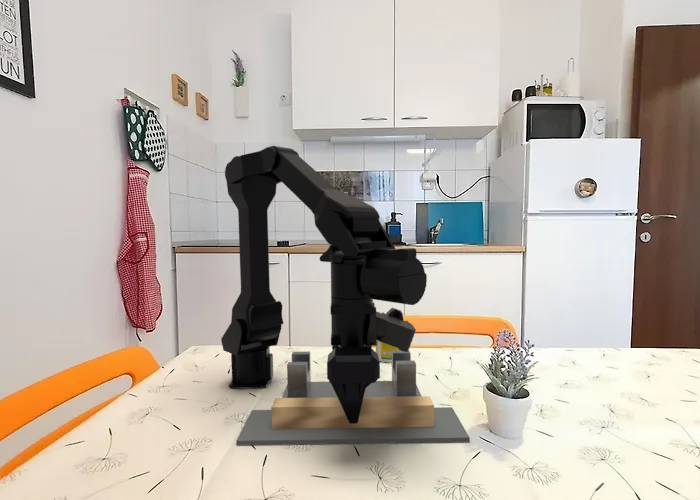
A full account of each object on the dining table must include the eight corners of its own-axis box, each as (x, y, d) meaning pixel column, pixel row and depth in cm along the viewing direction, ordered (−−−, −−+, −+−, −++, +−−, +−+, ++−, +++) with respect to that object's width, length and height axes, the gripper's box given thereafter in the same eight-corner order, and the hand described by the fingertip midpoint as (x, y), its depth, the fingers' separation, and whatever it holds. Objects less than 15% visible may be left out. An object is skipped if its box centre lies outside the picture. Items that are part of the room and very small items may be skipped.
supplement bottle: (370, 358, 88) (370, 313, 88) (388, 353, 92) (388, 310, 91) (388, 365, 84) (388, 317, 84) (406, 359, 88) (406, 314, 87)
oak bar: (271, 428, 57) (271, 407, 57) (275, 418, 60) (275, 398, 60) (434, 426, 57) (434, 405, 57) (429, 416, 60) (429, 396, 60)
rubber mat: (236, 445, 54) (236, 440, 54) (252, 413, 63) (252, 409, 63) (469, 442, 54) (469, 437, 54) (452, 411, 63) (452, 407, 63)
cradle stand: (280, 407, 65) (280, 366, 64) (288, 387, 73) (287, 350, 72) (423, 405, 65) (423, 364, 65) (414, 386, 73) (414, 349, 73)
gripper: (423, 308, 48) (423, 441, 49) (401, 285, 67) (401, 381, 68) (326, 309, 48) (327, 442, 49) (331, 286, 67) (332, 382, 67)
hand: (352, 407), depth 58 cm, fingers open, 9 cm apart
